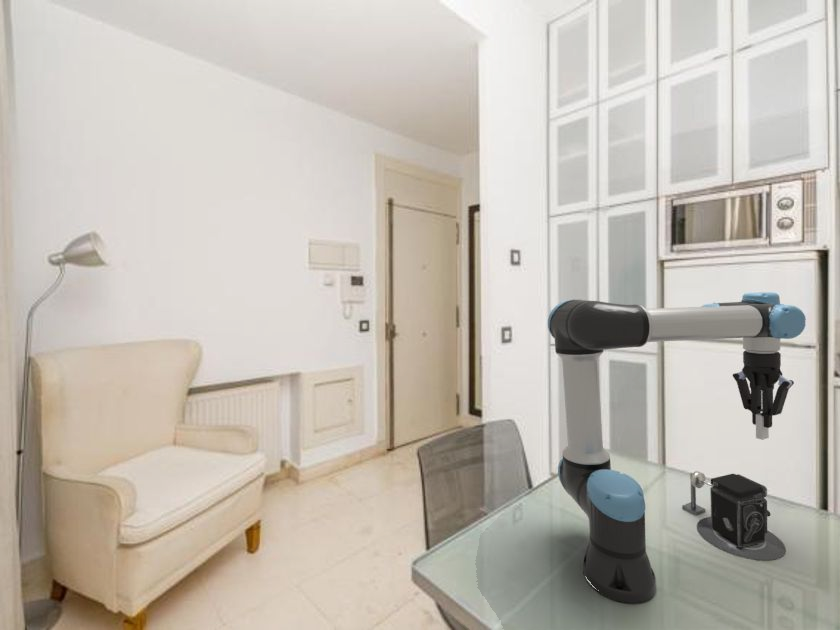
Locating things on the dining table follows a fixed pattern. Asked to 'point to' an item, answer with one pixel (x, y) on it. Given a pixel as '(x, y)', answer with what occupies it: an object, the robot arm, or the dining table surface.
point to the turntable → (761, 551)
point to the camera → (739, 509)
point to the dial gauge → (698, 482)
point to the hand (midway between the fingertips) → (762, 437)
